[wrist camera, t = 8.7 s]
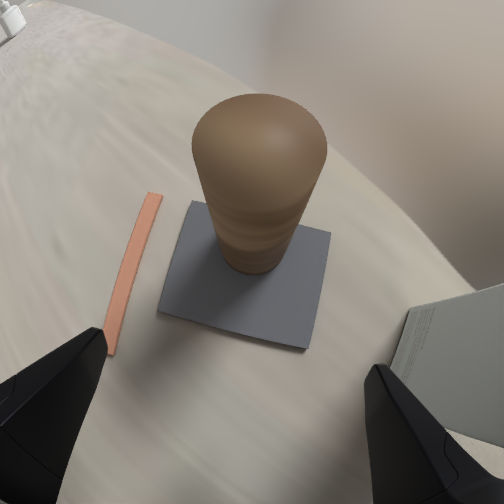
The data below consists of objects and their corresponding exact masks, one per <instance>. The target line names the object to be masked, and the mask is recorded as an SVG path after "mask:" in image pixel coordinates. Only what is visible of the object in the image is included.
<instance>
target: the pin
mask: <svg viewBox="0 0 504 504" xmlns="http://www.w3.org/2000/svg"><path fill="white" fill-rule="evenodd" d="M192 153H193V158H194V161H195V165H196V168H197V172H198V175H199V179H200V182H201V186H202V189H203V193H204V196H205V200H206V203H207V206H208V210H209V213H210V216H211V220H212V223H213V227H214V230H215V233H216V236H217V240H218V243H219V246H220V250H221V253H222V255H223V258H224V259H225V261H226V262H227V264H228V265H229V266H230V267H232V268H233V269H234V270H236V271H237V272H240V273H242V274H246V275H261V274H265V273H267V272H269V271H271V270H273V269H274V268H275V267H276V266H277V265H278V264H279V263H280V262H281V260H282V259H283V257H284V255H285V252H286V250H287V248H288V246H289V244H290V241H291V239H292V237H293V235H294V232H295V230H296V228H297V226H298V223H299V221H300V219H301V217H302V214H303V212H304V210H305V208H306V205H307V203H308V201H309V198H310V196H311V194H312V191H313V189H314V187H315V185H316V182H317V180H318V178H319V175H320V173H321V170H322V168H323V166H324V163H325V160H326V156H327V141H326V137H325V134H324V131H323V129H322V128H321V125H320V124H319V123H318V121H317V120H316V119H315V117H314V116H313V115H312V114H311V113H309V112H308V111H307V110H306V109H305V108H303V107H302V106H300V105H298V104H297V103H295V102H293V101H291V100H288V99H286V98H283V97H279V96H275V95H269V94H245V95H240V96H236V97H232V98H230V99H227V100H224V101H222V102H220V103H219V104H217V105H215V106H214V107H212V108H211V109H210V110H209V111H208V112H206V114H205V115H204V116H203V117H202V118H201V119H200V121H199V122H198V124H197V126H196V128H195V130H194V133H193V137H192Z"/></svg>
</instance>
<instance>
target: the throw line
mask: <svg viewBox="0 0 504 504" xmlns="http://www.w3.org/2000/svg"><path fill="white" fill-rule="evenodd" d="M162 198H163V195H161V194H156V193H151V192H148V194H147V196H146V198H145V201H144V203H143V206H142V209H141V211H140V214H139V216H138V219H137V222H136V224H135V227H134V230H133V233H132V235H131V238H130V241H129V244H128V247H127V250H126V253H125V256H124V259H123V262H122V265H121V268H120V271H119V274H118V278H117V281H116V284H115V288H114V291H113V294H112V298H111V301H110V305H109V309H108V312H107V316H106V320H105V324H104V328H103V332H104V335H105V338H106V341H107V344H108V354H110V355H115V351H116V347H117V342H118V338H119V334H120V330H121V326H122V322H123V318H124V315H125V311H126V307H127V304H128V300H129V297H130V293H131V290H132V286H133V283H134V280H135V276H136V273H137V270H138V267H139V264H140V260H141V257H142V254H143V251H144V248H145V245H146V242H147V239H148V237H149V234H150V231H151V228H152V225H153V222H154V220H155V217H156V214H157V212H158V209H159V206H160V204H161V201H162Z"/></svg>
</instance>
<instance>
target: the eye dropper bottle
mask: <svg viewBox="0 0 504 504" xmlns="http://www.w3.org/2000/svg"><path fill="white" fill-rule="evenodd" d="M0 10H1V12H3V13H2V15H1V16H0V24H1V26H2V27H3V29H4V31H5V33H6V34H7V36H8V38H9V39H10V38H13V37H14V36H16V35H17V34H18V33H19V32H20V31H21V30H22V29H23V28H24V27H25V26H26V25H27V23H26V21H25V19H24V17H23V15H22V13H21V12H20V10H19V8H18V6H17V5H14V6H11V7H10V4H9V2H8V1H6V2H5V1H4V0H2V1H1V6H0Z"/></svg>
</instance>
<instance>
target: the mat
mask: <svg viewBox="0 0 504 504" xmlns="http://www.w3.org/2000/svg"><path fill="white" fill-rule="evenodd" d="M330 237H331V233H330V232H327V231H323V230H319V229H315V228H311V227H307V226H303V225H299V224H298V226H297V228H296V230H295V232H294V235H293V237H292V239H291V241H290V244H289V246H288V248H287V250H286V252H285V255H284V257H283V259H282V260H281V262H280V263H279V264H278V265H277V266H276V267H275V268H274V269H273V270H271V271H269V272H267V273H265V274H261V275H246V274H242V273H240V272H237V271H236V270H234V269H233V268H232V267H230V266H229V265H228V264H227V262H226V261H225V259H224V258H223V255H222V253H221V250H220V246H219V243H218V240H217V236H216V233H215V230H214V227H213V223H212V220H211V216H210V213H209V210H208V206H207V203H203V202H198V201H193V200H192V202H191V205H190V208H189V210H188V213H187V216H186V219H185V222H184V225H183V228H182V231H181V234H180V237H179V240H178V243H177V246H176V250H175V253H174V256H173V259H172V262H171V266H170V269H169V272H168V275H167V279H166V282H165V286H164V289H163V293H162V296H161V300H160V303H159V307H158V310H157V311H161V312H164V313H167V314H170V315H174V316H177V317H180V318H184V319H187V320H191V321H194V322H198V323H201V324H205V325H209V326H212V327H216V328H220V329H224V330H227V331H231V332H235V333H239V334H243V335H247V336H251V337H256V338H260V339H264V340H269V341H273V342H278V343H282V344H287V345H292V346H296V347H301V348H306V349H309V345H310V340H311V336H312V331H313V327H314V322H315V318H316V313H317V308H318V303H319V298H320V293H321V288H322V283H323V278H324V272H325V267H326V261H327V255H328V249H329V243H330Z"/></svg>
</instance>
